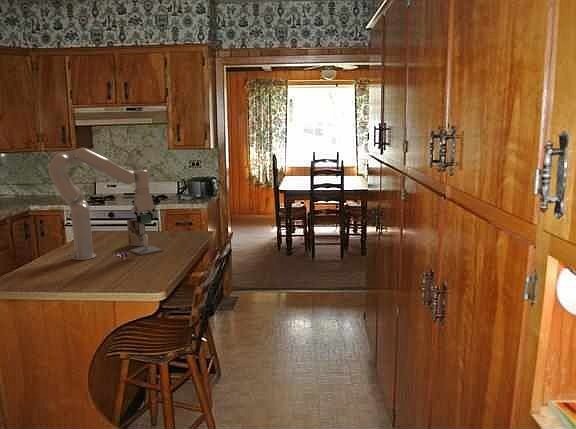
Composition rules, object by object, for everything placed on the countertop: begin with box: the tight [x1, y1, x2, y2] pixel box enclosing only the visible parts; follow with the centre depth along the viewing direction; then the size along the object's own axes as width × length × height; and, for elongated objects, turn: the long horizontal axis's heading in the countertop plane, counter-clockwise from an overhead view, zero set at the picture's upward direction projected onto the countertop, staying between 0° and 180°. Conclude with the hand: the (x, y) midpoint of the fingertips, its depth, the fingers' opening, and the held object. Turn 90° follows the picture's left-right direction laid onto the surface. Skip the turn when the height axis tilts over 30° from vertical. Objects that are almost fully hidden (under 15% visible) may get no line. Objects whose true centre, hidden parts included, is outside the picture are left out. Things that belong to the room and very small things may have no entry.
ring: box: [139, 213, 152, 225], centre depth 290 cm, size 7×7×4 cm
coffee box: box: [126, 218, 146, 247], centre depth 309 cm, size 9×6×16 cm
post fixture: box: [129, 234, 164, 256], centre depth 292 cm, size 14×14×10 cm
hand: (145, 221), depth 290 cm, fingers closed on ring, 6 cm apart
